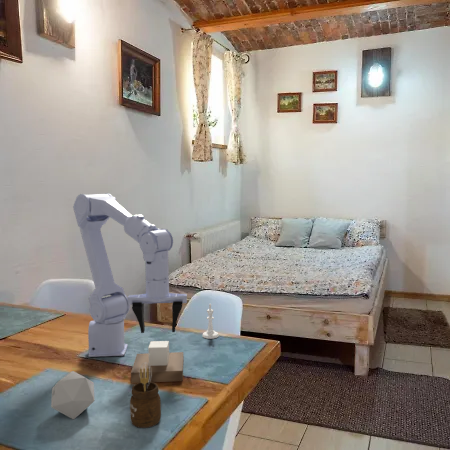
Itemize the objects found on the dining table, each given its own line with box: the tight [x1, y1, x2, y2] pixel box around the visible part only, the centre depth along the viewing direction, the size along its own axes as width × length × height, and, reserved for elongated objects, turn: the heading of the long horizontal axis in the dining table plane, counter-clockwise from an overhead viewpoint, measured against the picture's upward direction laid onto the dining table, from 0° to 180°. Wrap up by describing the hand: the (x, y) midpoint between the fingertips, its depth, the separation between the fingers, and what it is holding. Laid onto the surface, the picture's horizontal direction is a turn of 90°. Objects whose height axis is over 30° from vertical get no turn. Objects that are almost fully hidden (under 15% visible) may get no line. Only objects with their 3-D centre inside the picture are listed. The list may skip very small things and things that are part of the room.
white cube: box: [148, 340, 170, 366], centre depth 113 cm, size 4×4×4 cm
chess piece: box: [201, 303, 220, 340], centre depth 139 cm, size 5×5×10 cm
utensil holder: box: [129, 363, 162, 429], centre depth 90 cm, size 6×6×12 cm
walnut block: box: [130, 351, 185, 384], centre depth 114 cm, size 12×12×3 cm
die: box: [50, 370, 96, 421], centre depth 94 cm, size 8×9×10 cm
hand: (158, 331), depth 116 cm, fingers open, 7 cm apart
